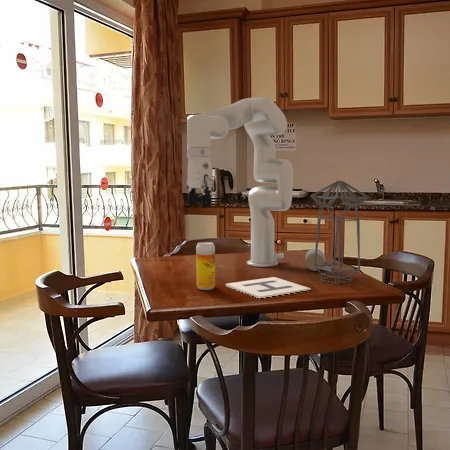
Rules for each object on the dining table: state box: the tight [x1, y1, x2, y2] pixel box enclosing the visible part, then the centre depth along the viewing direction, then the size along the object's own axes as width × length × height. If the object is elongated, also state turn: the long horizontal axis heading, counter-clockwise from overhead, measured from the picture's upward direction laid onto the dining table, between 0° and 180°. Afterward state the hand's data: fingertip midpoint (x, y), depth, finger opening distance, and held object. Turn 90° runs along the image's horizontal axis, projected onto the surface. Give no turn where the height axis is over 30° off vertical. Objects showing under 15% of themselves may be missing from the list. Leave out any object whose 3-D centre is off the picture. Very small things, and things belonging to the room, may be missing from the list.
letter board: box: [225, 276, 311, 300], centre depth 173 cm, size 20×20×1 cm
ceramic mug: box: [304, 248, 334, 272], centre depth 202 cm, size 11×8×8 cm
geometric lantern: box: [310, 180, 371, 285], centre depth 182 cm, size 16×16×35 cm
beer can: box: [195, 241, 216, 291], centre depth 173 cm, size 6×6×15 cm
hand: (199, 206), depth 172 cm, fingers open, 9 cm apart
